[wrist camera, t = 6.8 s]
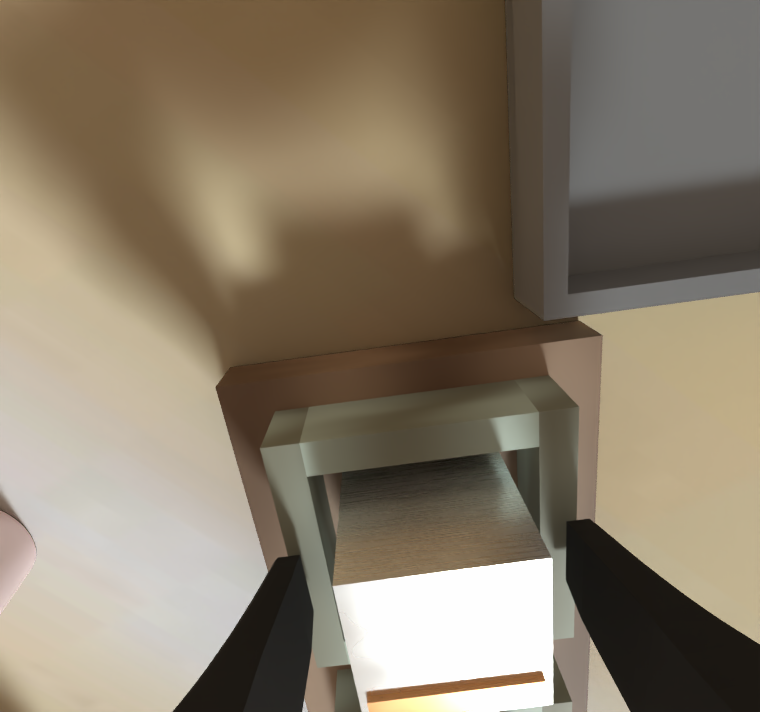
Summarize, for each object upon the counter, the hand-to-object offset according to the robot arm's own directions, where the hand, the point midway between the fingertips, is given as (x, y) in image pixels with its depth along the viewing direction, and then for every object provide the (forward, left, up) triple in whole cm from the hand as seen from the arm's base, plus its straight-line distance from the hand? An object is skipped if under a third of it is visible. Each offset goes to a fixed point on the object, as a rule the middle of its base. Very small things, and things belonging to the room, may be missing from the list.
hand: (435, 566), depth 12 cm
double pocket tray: (0, +6, -4) cm, 7 cm away
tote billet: (0, 0, -2) cm, 3 cm away
